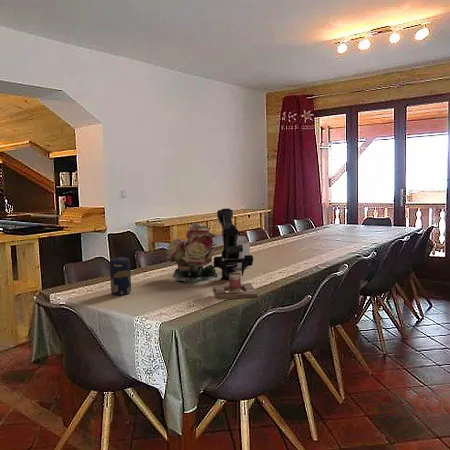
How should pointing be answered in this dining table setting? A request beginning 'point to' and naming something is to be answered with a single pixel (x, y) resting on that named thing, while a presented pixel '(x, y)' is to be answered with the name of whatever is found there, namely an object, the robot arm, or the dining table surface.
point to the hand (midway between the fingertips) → (235, 276)
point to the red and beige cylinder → (234, 282)
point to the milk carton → (246, 248)
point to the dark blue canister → (120, 275)
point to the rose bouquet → (193, 255)
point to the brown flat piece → (225, 295)
